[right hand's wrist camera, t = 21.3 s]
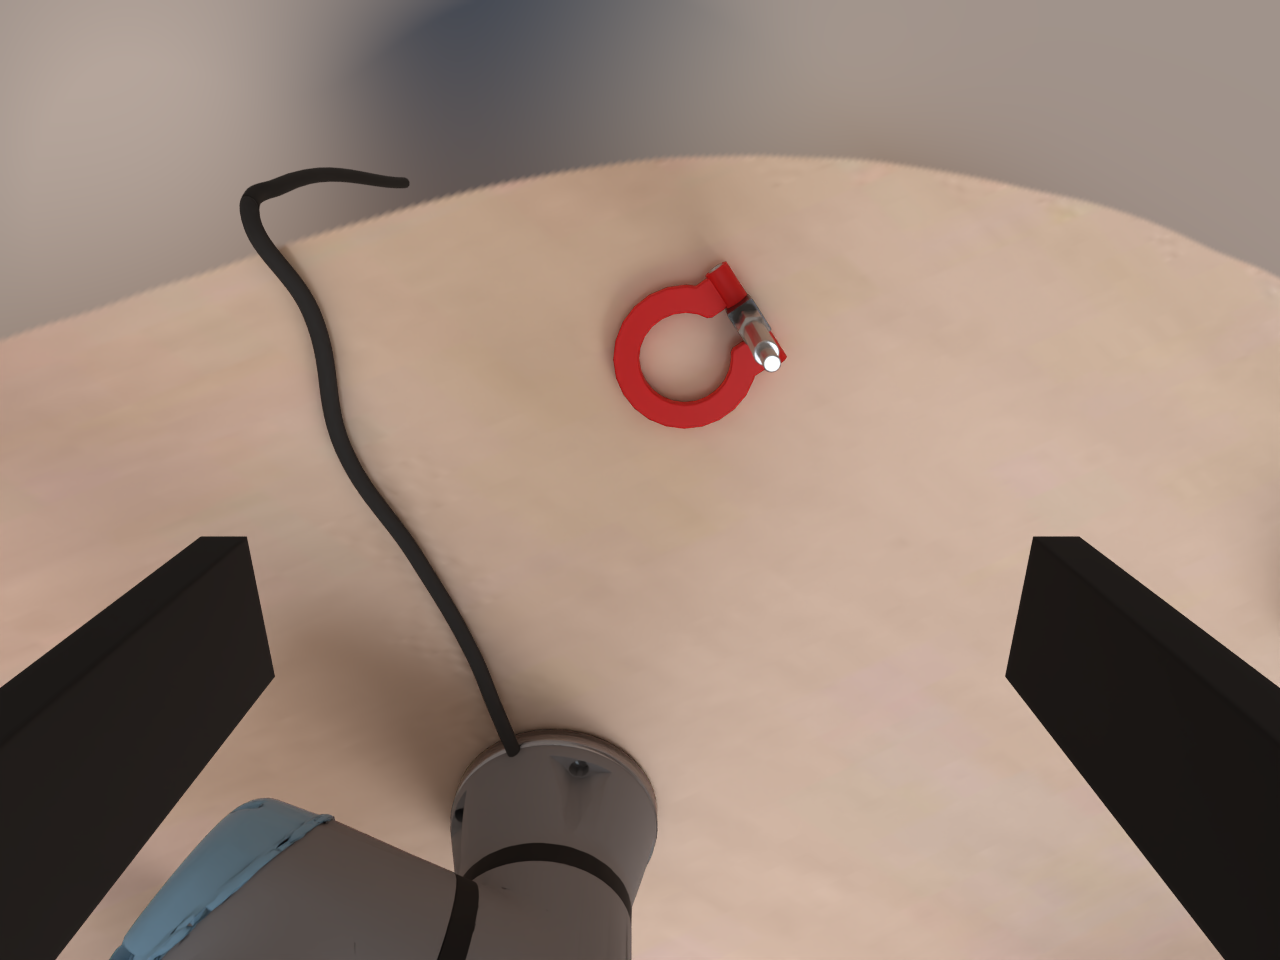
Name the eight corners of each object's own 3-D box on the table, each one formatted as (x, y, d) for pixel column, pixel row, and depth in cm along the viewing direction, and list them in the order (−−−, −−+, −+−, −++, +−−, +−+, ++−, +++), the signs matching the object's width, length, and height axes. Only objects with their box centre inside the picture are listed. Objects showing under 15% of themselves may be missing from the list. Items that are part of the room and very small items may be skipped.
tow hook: (666, 448, 47) (794, 365, 45) (664, 538, 35) (838, 431, 33) (587, 338, 44) (717, 245, 42) (554, 394, 32) (734, 268, 30)
